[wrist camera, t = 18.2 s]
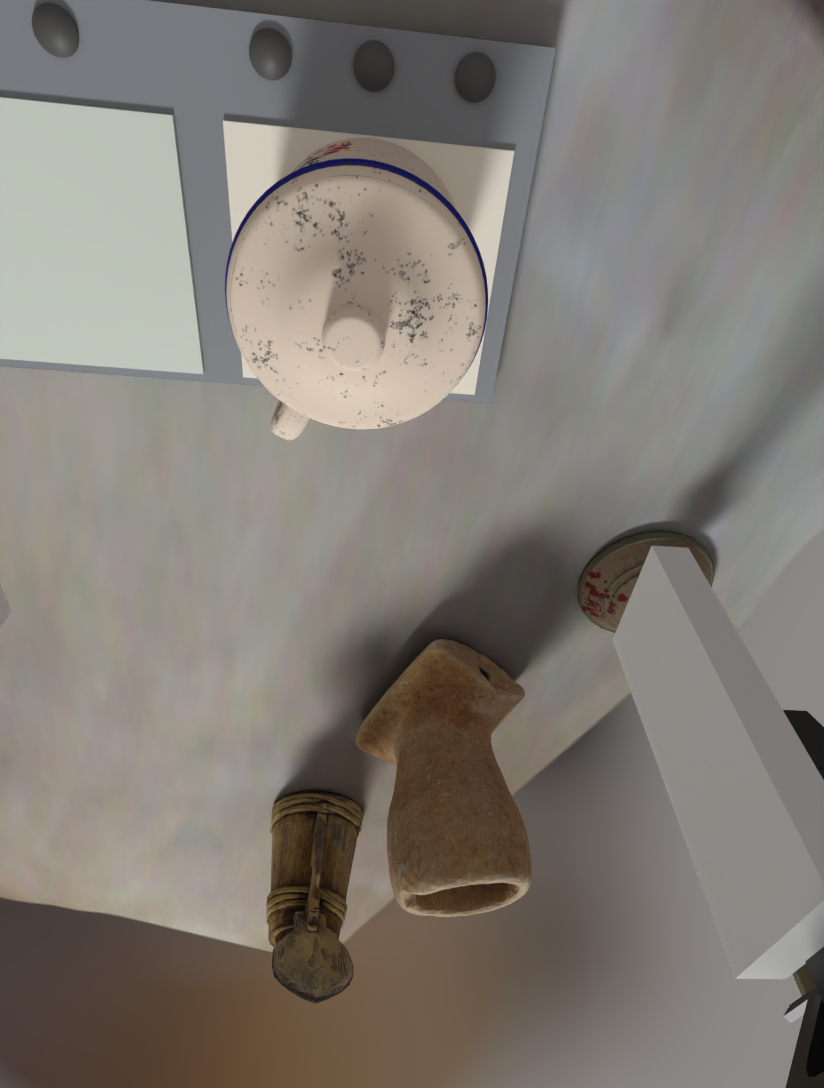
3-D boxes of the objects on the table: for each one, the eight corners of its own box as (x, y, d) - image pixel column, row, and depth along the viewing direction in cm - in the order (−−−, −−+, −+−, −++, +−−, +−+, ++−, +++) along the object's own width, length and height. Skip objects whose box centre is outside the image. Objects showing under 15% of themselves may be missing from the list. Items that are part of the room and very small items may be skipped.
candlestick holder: (591, 529, 41) (856, 1194, 17) (730, 530, 41) (1180, 1186, 17) (566, 628, 46) (740, 1230, 23) (689, 628, 47) (986, 1224, 23)
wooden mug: (385, 770, 57) (381, 1007, 43) (351, 841, 65) (339, 1060, 51) (287, 756, 56) (250, 997, 42) (265, 831, 64) (228, 1054, 50)
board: (-45, 352, 33) (-61, 363, 32) (-189, -39, 23) (-218, -43, 22) (488, 393, 35) (491, 405, 34) (550, 47, 25) (557, 48, 24)
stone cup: (456, 767, 57) (472, 953, 46) (338, 729, 54) (322, 922, 42) (562, 671, 49) (613, 867, 38) (432, 618, 46) (445, 819, 34)
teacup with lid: (321, 77, 25) (278, 96, 16) (507, 211, 28) (561, 293, 19) (211, 336, 31) (134, 457, 22) (373, 422, 34) (364, 560, 25)
